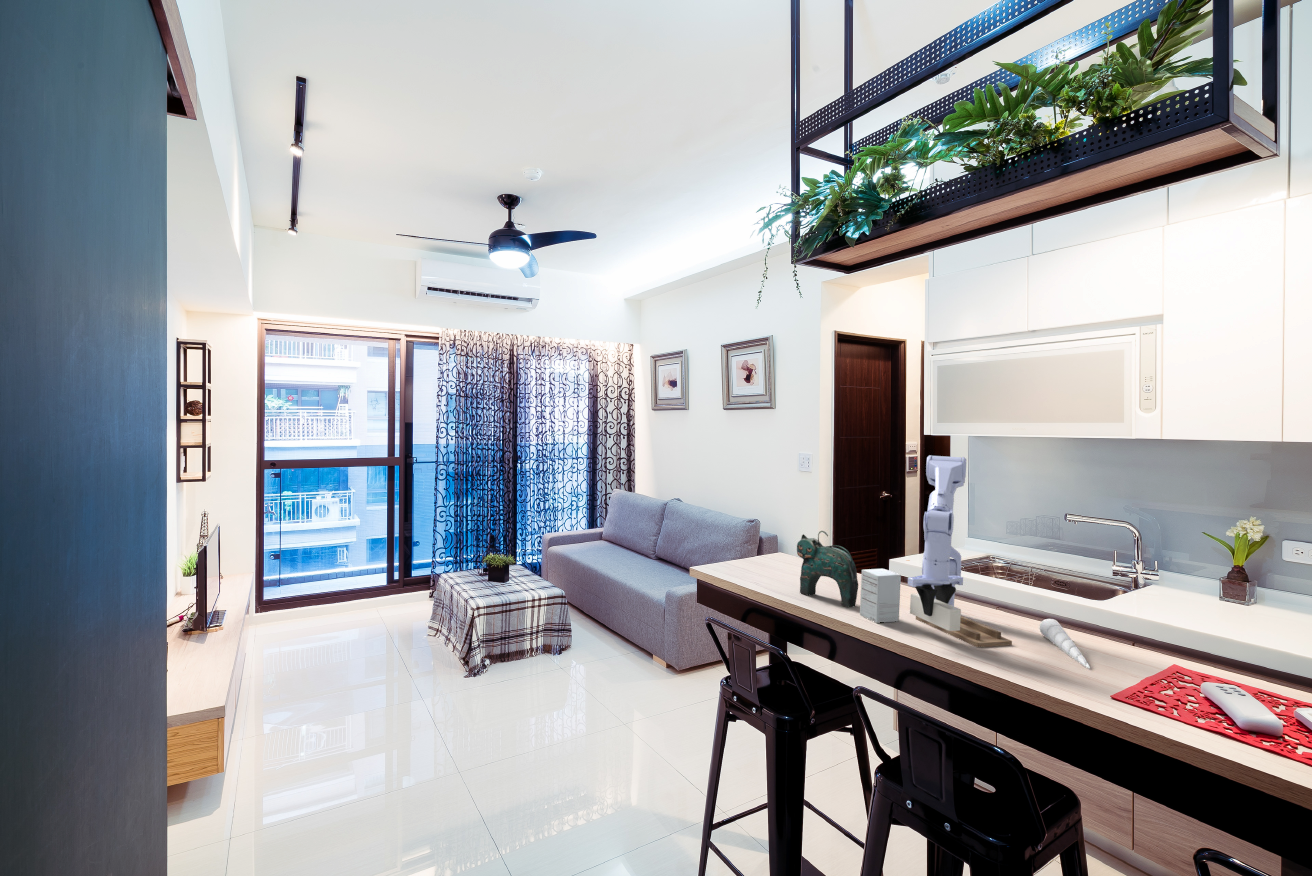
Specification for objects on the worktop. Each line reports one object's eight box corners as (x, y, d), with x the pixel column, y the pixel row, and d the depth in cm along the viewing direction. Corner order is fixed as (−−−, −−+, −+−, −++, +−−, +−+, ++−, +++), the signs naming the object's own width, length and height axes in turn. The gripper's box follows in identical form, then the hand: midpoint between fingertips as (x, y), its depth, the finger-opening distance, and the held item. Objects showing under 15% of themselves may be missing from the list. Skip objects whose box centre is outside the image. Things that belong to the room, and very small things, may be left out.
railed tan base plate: (915, 618, 172) (916, 609, 172) (946, 617, 175) (947, 608, 174) (977, 647, 151) (978, 636, 151) (1011, 644, 153) (1012, 634, 153)
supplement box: (881, 613, 176) (883, 567, 175) (899, 621, 169) (902, 574, 168) (858, 615, 173) (860, 568, 173) (876, 623, 166) (878, 575, 166)
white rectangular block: (909, 613, 163) (910, 593, 163) (919, 612, 164) (920, 593, 164) (949, 630, 149) (950, 609, 149) (959, 630, 150) (960, 609, 150)
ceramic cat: (792, 592, 194) (795, 527, 194) (806, 589, 198) (809, 525, 198) (848, 609, 179) (851, 538, 178) (862, 606, 183) (865, 536, 182)
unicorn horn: (1070, 668, 140) (1071, 646, 140) (1037, 635, 163) (1039, 616, 163) (1095, 671, 139) (1096, 649, 139) (1059, 637, 161) (1060, 619, 161)
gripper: (922, 563, 150) (919, 621, 151) (973, 562, 154) (970, 618, 155) (903, 557, 157) (900, 612, 158) (952, 556, 161) (949, 609, 162)
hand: (933, 614), depth 157 cm, fingers closed on white rectangular block, 3 cm apart
